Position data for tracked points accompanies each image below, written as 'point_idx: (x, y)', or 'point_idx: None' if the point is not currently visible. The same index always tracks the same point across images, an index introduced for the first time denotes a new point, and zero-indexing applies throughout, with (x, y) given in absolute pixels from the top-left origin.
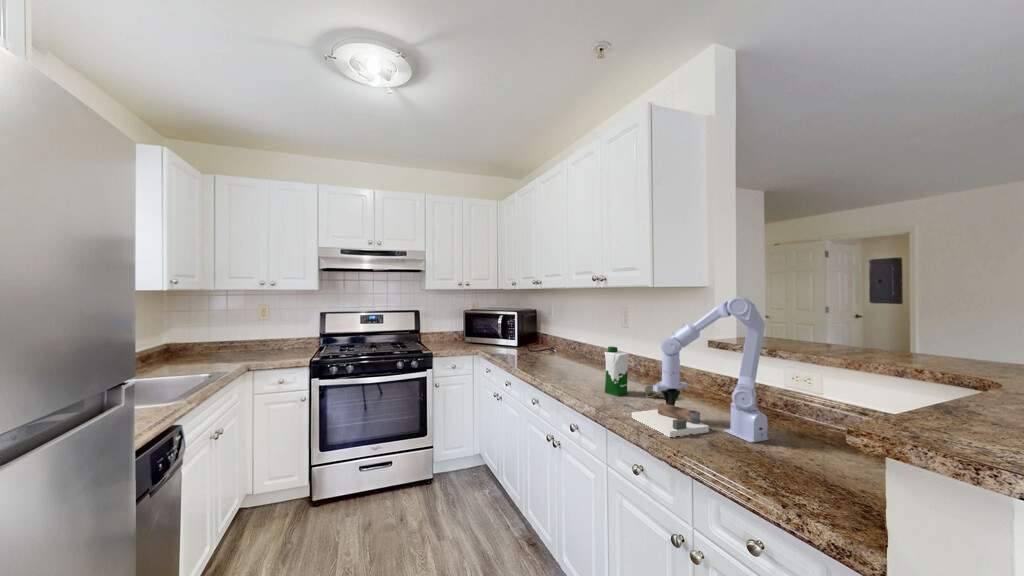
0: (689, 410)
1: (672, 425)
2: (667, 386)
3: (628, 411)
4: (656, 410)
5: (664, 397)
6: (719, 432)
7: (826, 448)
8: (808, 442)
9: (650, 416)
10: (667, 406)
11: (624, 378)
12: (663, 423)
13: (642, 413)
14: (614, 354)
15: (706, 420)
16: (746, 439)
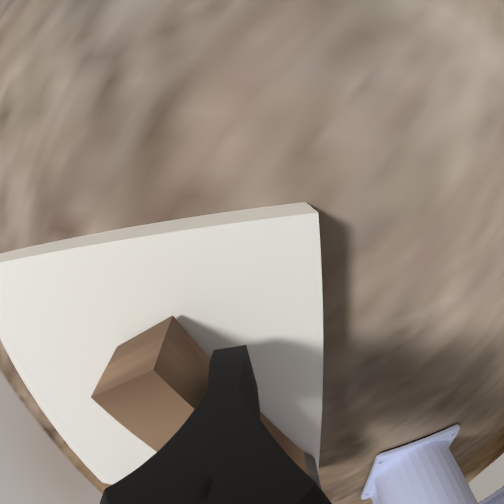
0: None
1: (136, 465)
2: None
3: (15, 118)
4: (151, 258)
5: (177, 432)
6: (355, 458)
7: (472, 471)
8: (483, 456)
9: (54, 363)
10: (164, 444)
11: None
12: (100, 444)
13: (19, 304)
14: None
15: (448, 348)
16: (363, 495)
